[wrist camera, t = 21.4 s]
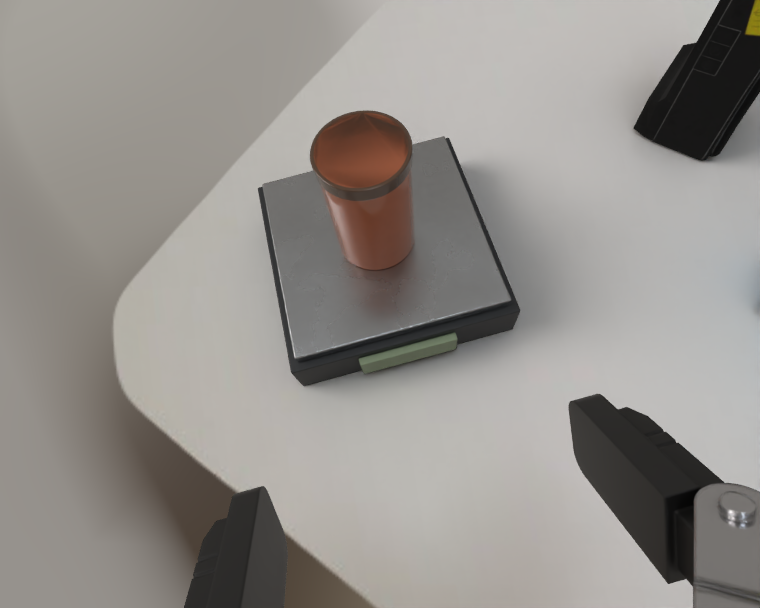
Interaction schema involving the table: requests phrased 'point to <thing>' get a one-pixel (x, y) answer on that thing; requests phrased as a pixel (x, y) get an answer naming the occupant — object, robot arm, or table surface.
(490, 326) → the scale
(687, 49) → the portable radio
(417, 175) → the scale pan
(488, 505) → the table surface
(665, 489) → the robot arm
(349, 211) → the spice tin
